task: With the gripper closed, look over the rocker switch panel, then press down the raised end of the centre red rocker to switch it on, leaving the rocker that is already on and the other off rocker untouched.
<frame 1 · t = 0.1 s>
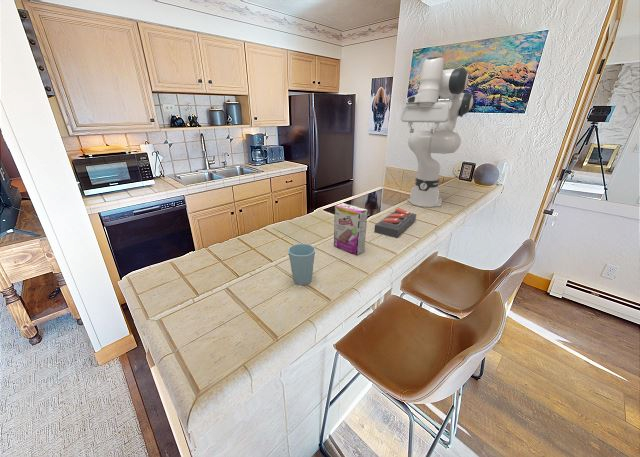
hand: (421, 133, 120), 39 cm above the worktop, tool pointing down, fingers open, 8 cm apart
rocker 2: (397, 215, 118), point 5 cm above the worktop, hinge at 12.0°
rocker 1: (402, 211, 123), point 5 cm above the worktop, hinge at -12.0°
rocker switch panel: (395, 226, 120), on the worktop
cup: (302, 280, 80), on the worktop
rocker 3: (391, 220, 113), point 5 cm above the worktop, hinge at 12.0°
candy bar box: (348, 249, 99), on the worktop
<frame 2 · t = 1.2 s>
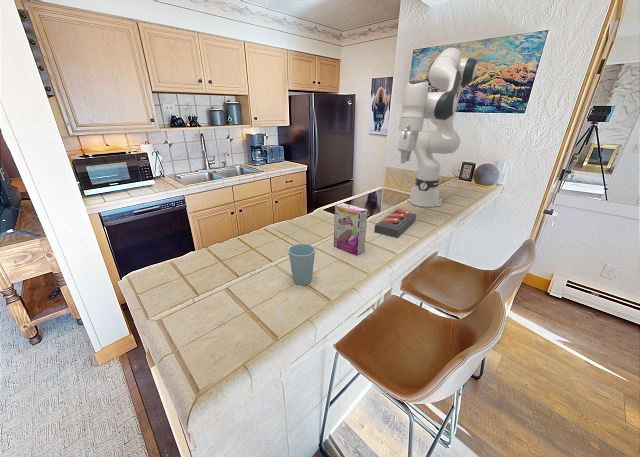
hand: (405, 162, 110), 28 cm above the worktop, tool pointing down, fingers open, 8 cm apart
nothing on the worktop moved.
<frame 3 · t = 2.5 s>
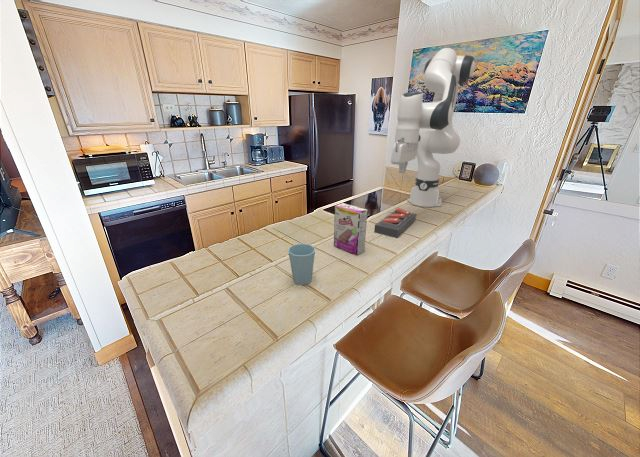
hand: (402, 172, 111), 24 cm above the worktop, tool pointing down, fingers closed
nothing on the worktop moved.
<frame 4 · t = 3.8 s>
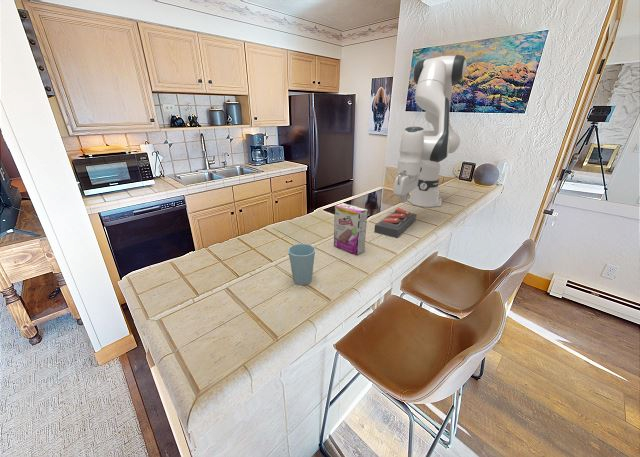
hand: (403, 202, 114), 12 cm above the worktop, tool pointing down, fingers closed
nothing on the worktop moved.
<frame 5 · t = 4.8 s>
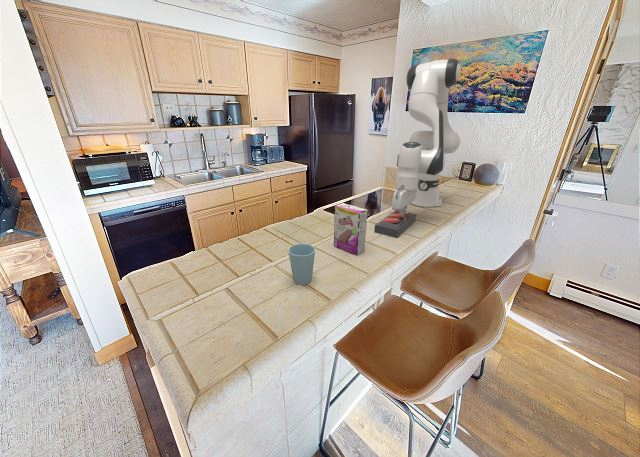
hand: (402, 214, 116), 6 cm above the worktop, tool pointing down, fingers closed, pressing on rocker 2
rocker 2: (397, 215, 118), point 5 cm above the worktop, hinge at 12.0°, touching gripper
everything else where it was.
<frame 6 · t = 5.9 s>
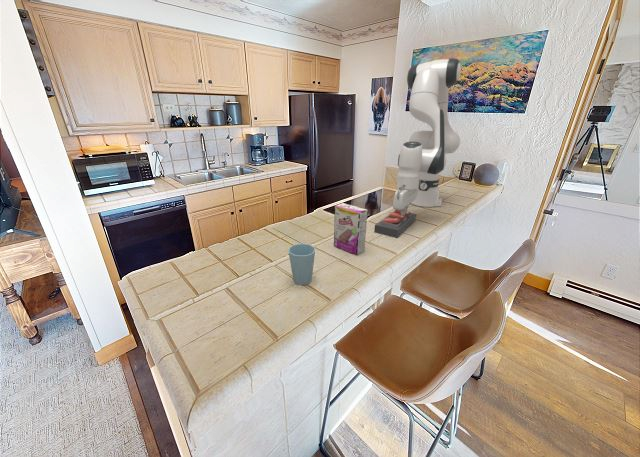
hand: (403, 214, 116), 6 cm above the worktop, tool pointing down, fingers closed
rocker 2: (397, 215, 118), point 5 cm above the worktop, hinge at -7.7°
everything else where it was.
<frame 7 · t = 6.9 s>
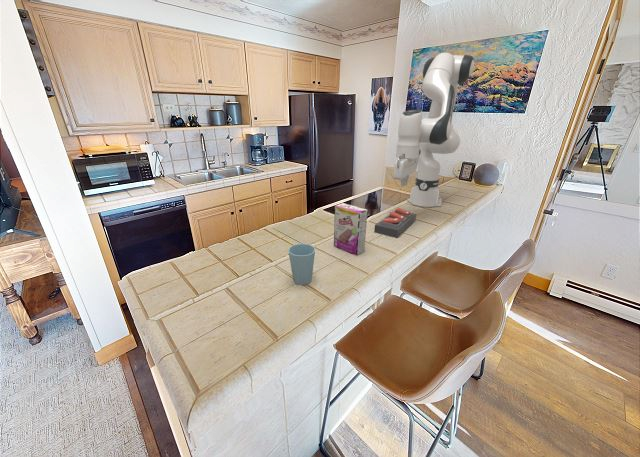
hand: (404, 185, 116), 18 cm above the worktop, tool pointing down, fingers closed
rocker 2: (397, 215, 118), point 5 cm above the worktop, hinge at -14.1°
everything else where it was.
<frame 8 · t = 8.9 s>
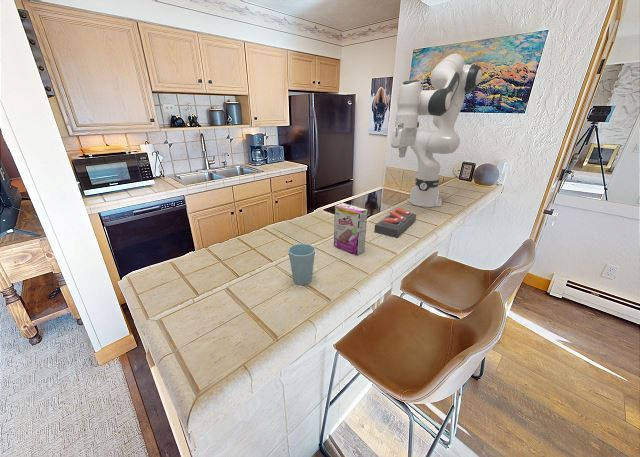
hand: (402, 157, 117), 29 cm above the worktop, tool pointing down, fingers closed
rocker 2: (397, 215, 118), point 5 cm above the worktop, hinge at -21.2°, touching rocker switch panel
everything else where it was.
at the end: rocker 2 at -21° (first picture: +12°); rocker 1 at -12° (first picture: -12°); rocker 3 at +12° (first picture: +12°) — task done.
